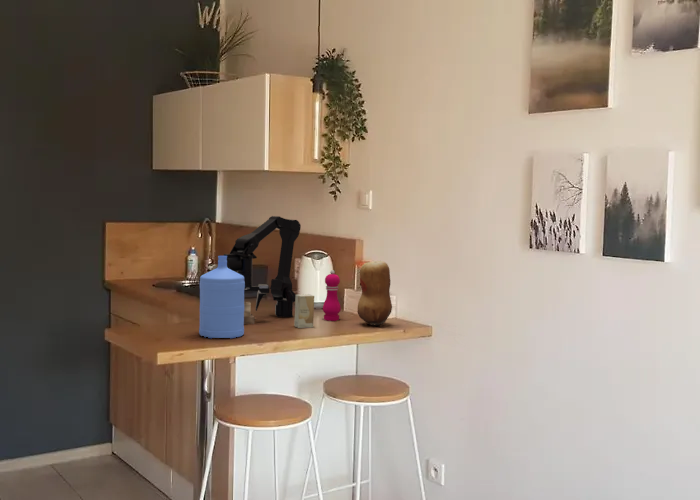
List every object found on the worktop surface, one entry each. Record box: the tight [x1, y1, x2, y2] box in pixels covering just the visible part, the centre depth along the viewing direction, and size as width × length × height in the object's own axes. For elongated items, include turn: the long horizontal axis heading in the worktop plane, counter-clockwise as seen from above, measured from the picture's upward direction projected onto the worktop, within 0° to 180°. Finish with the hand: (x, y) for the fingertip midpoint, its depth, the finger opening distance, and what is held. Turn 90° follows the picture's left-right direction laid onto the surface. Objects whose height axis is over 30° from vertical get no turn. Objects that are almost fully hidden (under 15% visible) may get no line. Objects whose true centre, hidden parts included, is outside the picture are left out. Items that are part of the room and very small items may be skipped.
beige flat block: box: [244, 313, 256, 325], centre depth 304 cm, size 7×7×3 cm
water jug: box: [198, 255, 245, 339], centre depth 276 cm, size 16×16×28 cm
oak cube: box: [244, 301, 252, 317], centre depth 304 cm, size 5×5×5 cm
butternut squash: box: [356, 260, 393, 326], centre depth 304 cm, size 14×13×25 cm
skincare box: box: [293, 293, 315, 329], centre depth 297 cm, size 6×4×12 cm
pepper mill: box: [322, 269, 342, 322], centre depth 314 cm, size 7×7×20 cm
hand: (244, 310), depth 304 cm, fingers open, 9 cm apart
